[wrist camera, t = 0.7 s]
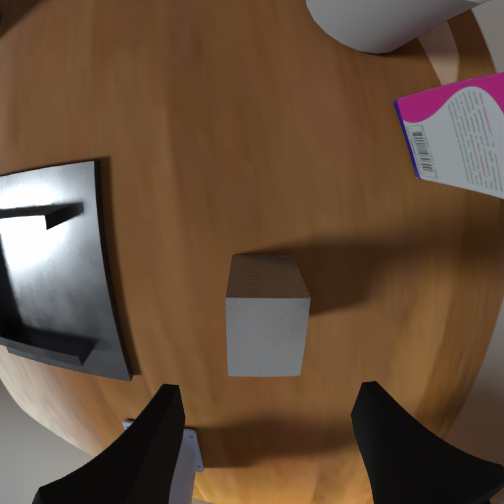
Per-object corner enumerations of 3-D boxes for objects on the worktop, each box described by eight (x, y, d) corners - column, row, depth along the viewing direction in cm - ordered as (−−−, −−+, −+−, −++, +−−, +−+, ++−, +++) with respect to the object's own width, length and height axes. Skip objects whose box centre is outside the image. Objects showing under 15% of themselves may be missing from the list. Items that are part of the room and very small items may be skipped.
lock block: (288, 320, 21) (299, 375, 15) (233, 319, 21) (228, 376, 15) (293, 255, 19) (310, 298, 14) (232, 254, 19) (225, 297, 14)
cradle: (133, 375, 23) (123, 398, 20) (12, 348, 23) (-2, 363, 20) (99, 160, 17) (76, 163, 14) (-29, 184, 17) (-50, 190, 14)
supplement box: (470, 159, 17) (588, 185, 6) (414, 179, 18) (544, 220, 7) (450, 86, 15) (568, 71, 4) (390, 98, 16) (518, 68, 5)
